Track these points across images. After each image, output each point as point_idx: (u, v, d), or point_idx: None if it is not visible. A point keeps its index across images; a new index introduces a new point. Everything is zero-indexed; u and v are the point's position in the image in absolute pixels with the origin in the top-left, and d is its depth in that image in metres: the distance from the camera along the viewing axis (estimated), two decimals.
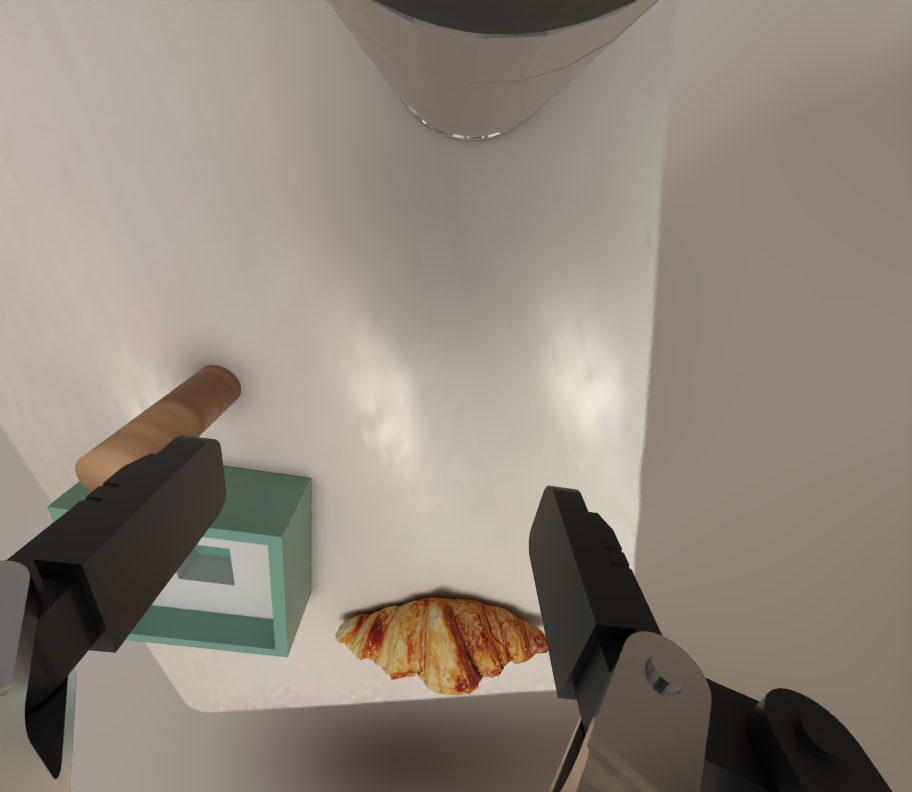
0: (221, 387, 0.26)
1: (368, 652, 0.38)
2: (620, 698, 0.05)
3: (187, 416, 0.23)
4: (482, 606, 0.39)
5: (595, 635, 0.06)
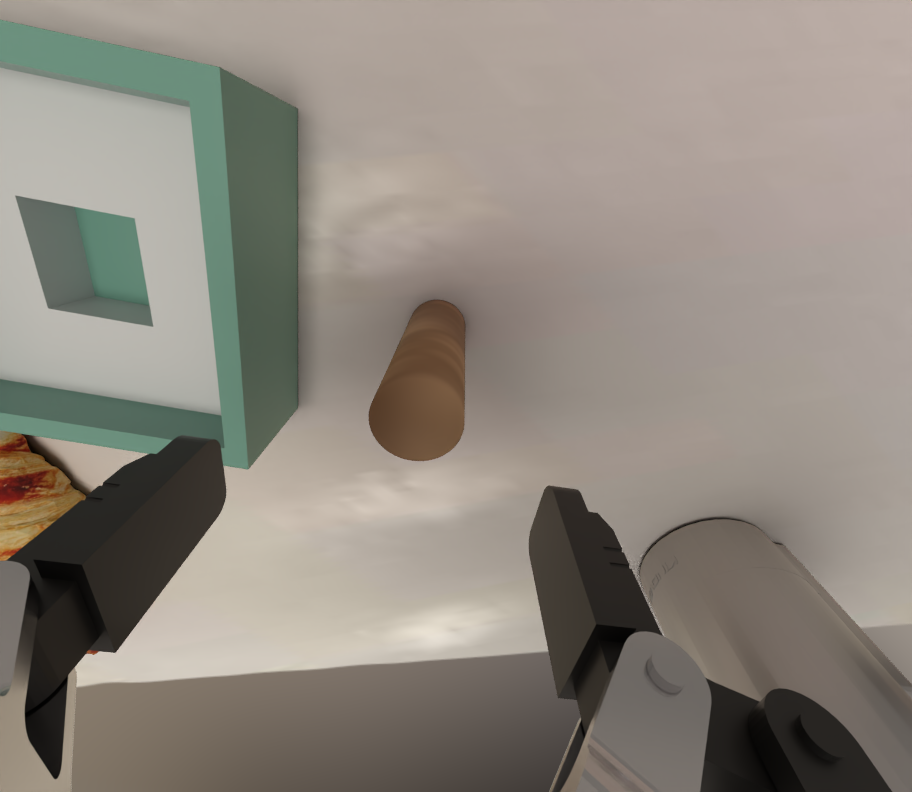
0: None
1: None
2: (620, 698, 0.05)
3: None
4: None
5: (595, 635, 0.06)
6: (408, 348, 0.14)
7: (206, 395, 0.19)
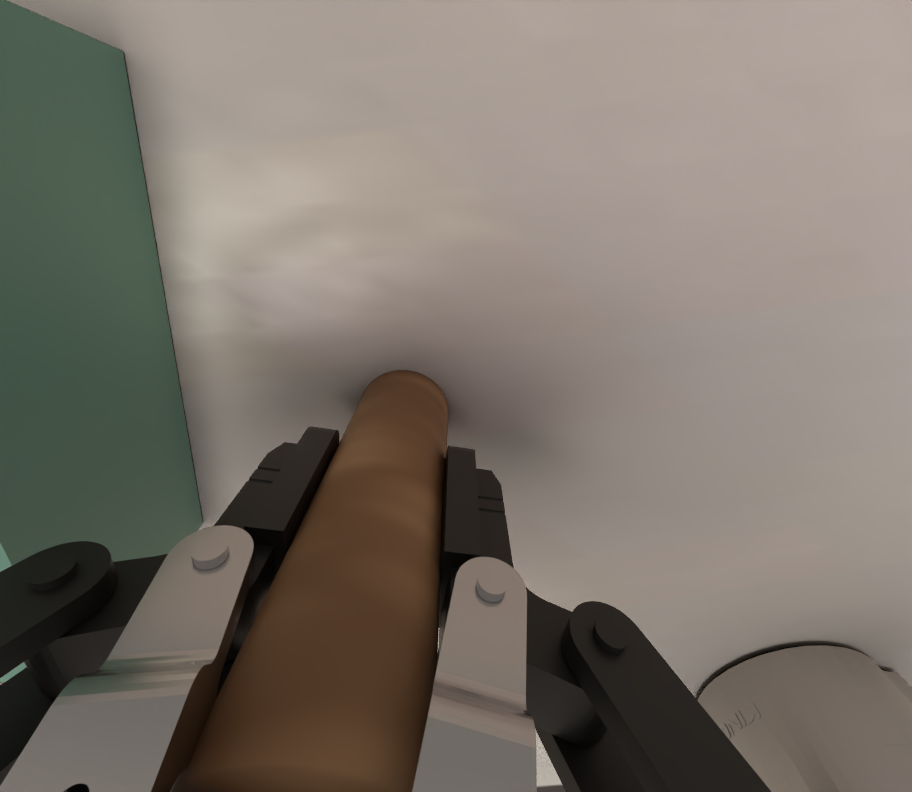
0: None
1: None
2: (457, 626, 0.06)
3: None
4: None
5: (446, 562, 0.07)
6: (311, 549, 0.06)
7: None
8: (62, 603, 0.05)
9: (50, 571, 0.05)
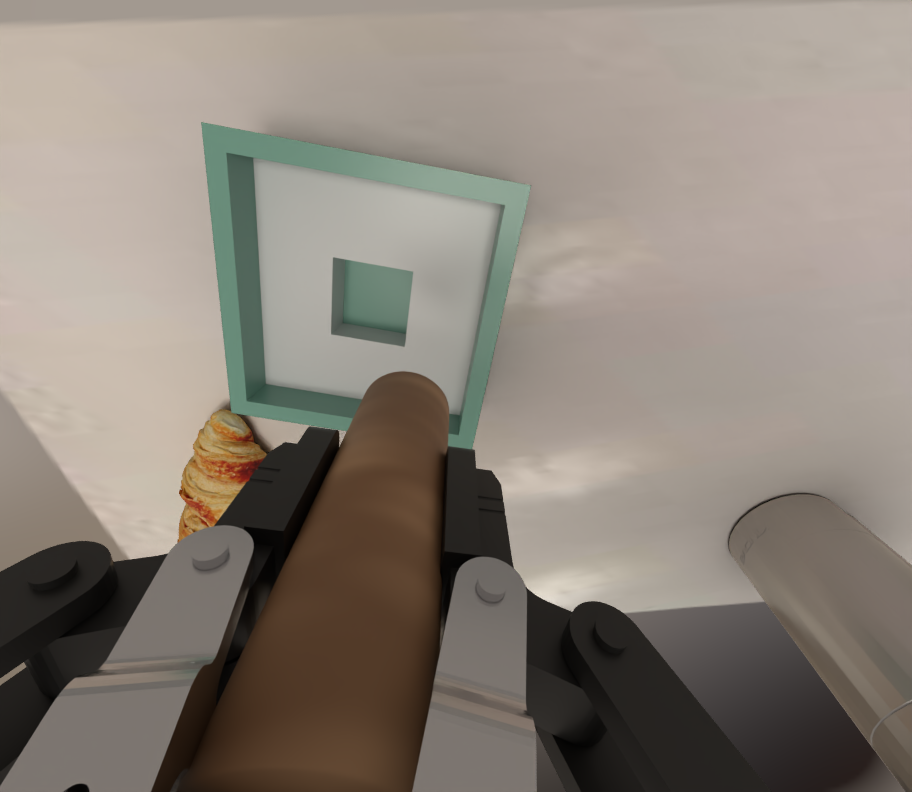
0: None
1: (222, 469, 0.29)
2: (457, 627, 0.06)
3: None
4: None
5: (446, 562, 0.07)
6: (313, 551, 0.06)
7: None
8: (63, 603, 0.05)
9: (50, 571, 0.05)
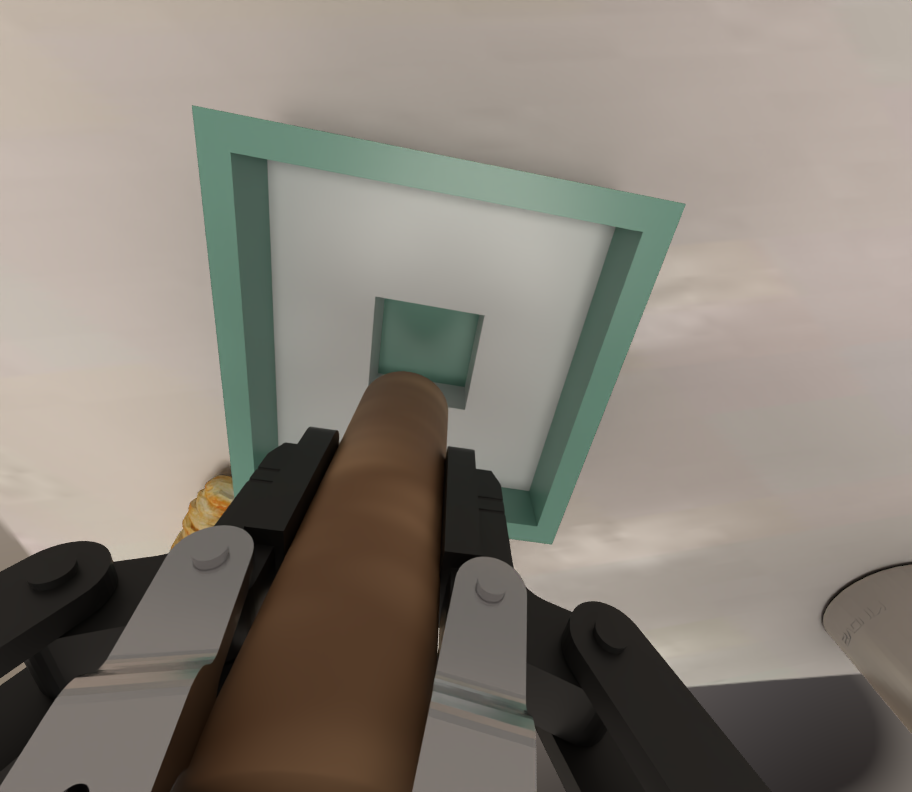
0: None
1: None
2: (457, 626, 0.06)
3: None
4: None
5: (446, 562, 0.07)
6: (311, 552, 0.06)
7: (493, 469, 0.20)
8: (63, 603, 0.05)
9: (50, 571, 0.05)
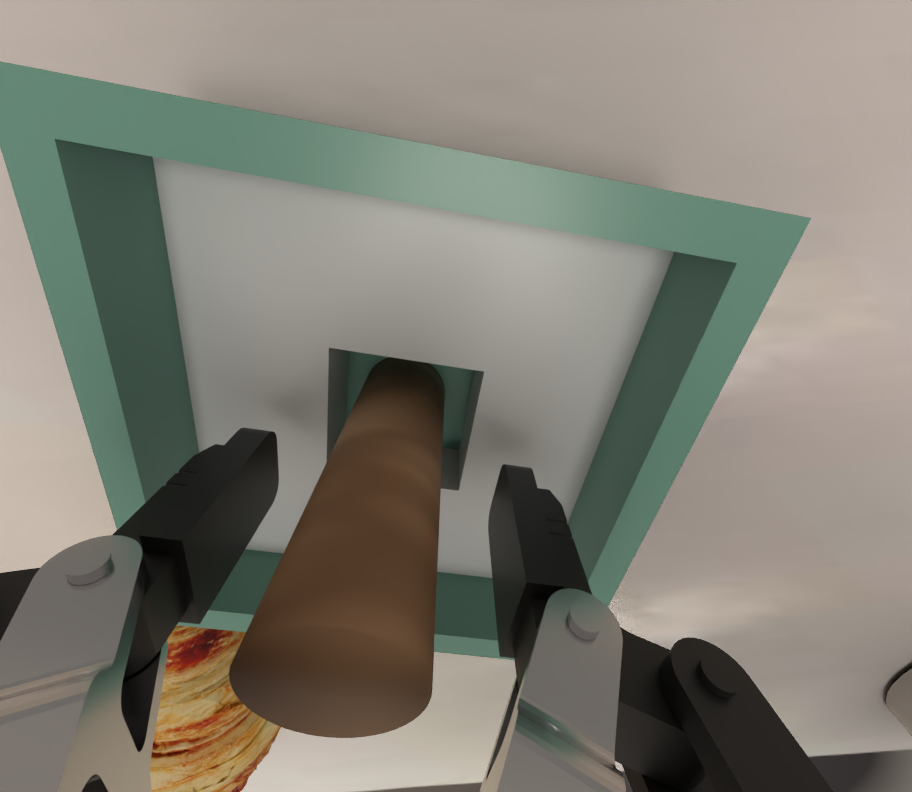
0: None
1: None
2: (545, 655, 0.06)
3: None
4: None
5: (527, 593, 0.07)
6: (332, 492, 0.08)
7: None
8: None
9: None
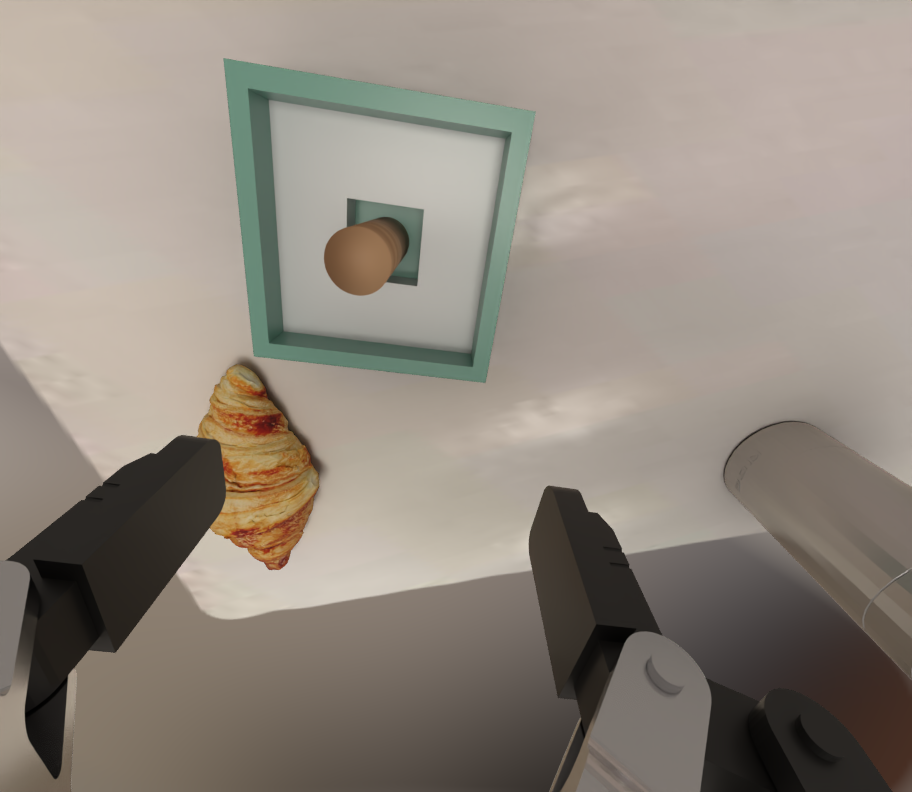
0: None
1: (240, 421, 0.30)
2: (620, 698, 0.05)
3: None
4: None
5: (595, 635, 0.06)
6: None
7: (442, 336, 0.27)
8: None
9: None
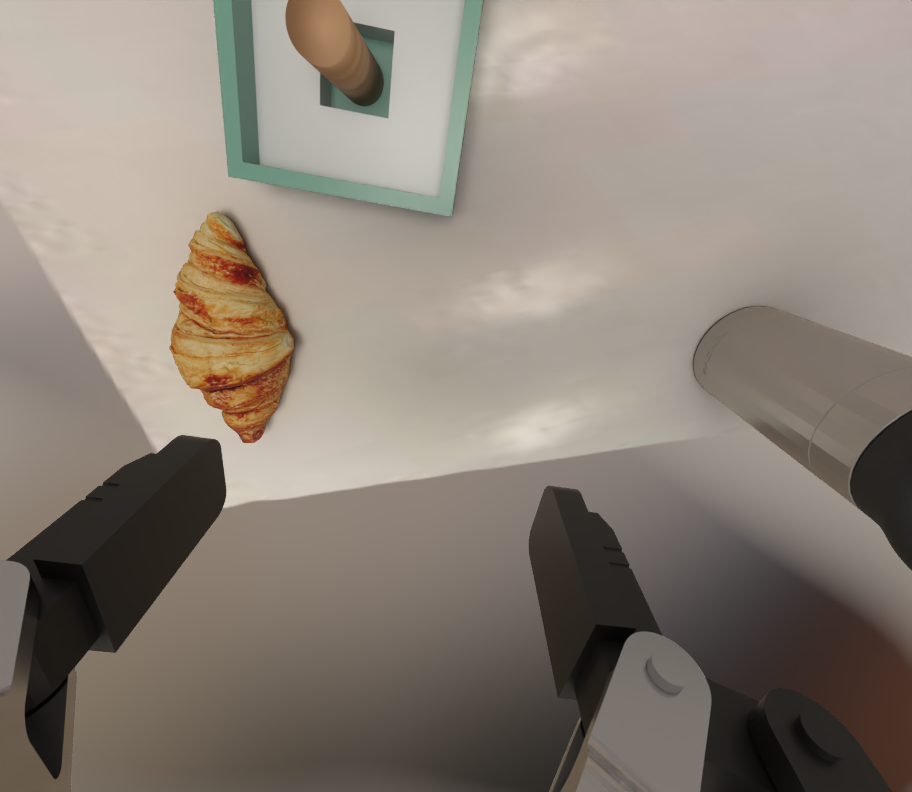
0: (369, 97, 0.27)
1: (217, 265, 0.31)
2: (620, 698, 0.05)
3: (357, 82, 0.23)
4: None
5: (595, 635, 0.06)
6: None
7: (413, 176, 0.28)
8: None
9: None
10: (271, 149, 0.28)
